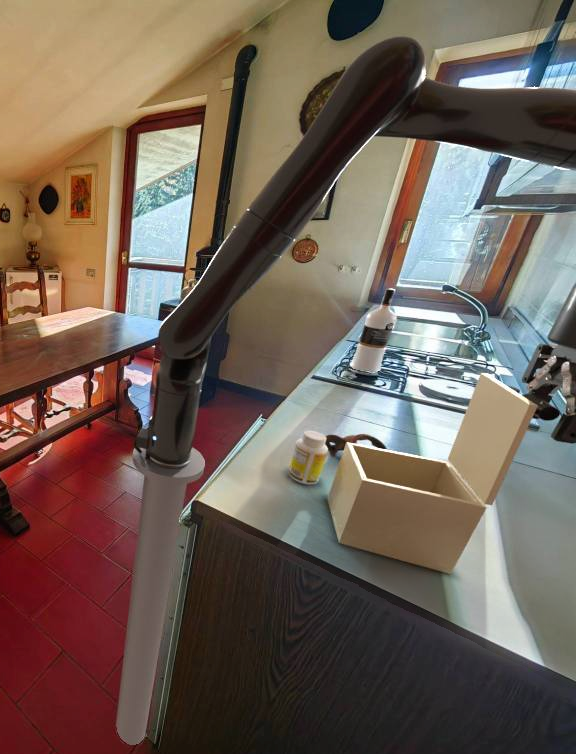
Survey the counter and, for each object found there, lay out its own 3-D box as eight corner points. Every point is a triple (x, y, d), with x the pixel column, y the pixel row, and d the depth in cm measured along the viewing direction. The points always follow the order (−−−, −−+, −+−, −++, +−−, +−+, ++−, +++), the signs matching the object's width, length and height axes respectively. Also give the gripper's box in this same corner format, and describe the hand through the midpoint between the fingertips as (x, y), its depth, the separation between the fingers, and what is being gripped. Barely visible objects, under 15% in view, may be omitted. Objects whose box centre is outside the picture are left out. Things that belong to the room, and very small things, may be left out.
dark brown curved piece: (366, 456, 91) (392, 438, 84) (367, 490, 85) (395, 475, 79) (313, 435, 93) (334, 417, 87) (310, 467, 88) (333, 451, 81)
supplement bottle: (318, 475, 83) (331, 433, 79) (317, 489, 78) (331, 445, 74) (288, 467, 85) (300, 426, 81) (286, 479, 81) (298, 437, 77)
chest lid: (529, 404, 49) (589, 411, 47) (480, 372, 60) (527, 376, 57) (484, 504, 55) (536, 514, 52) (447, 458, 65) (488, 465, 63)
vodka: (365, 367, 147) (392, 286, 135) (385, 376, 138) (416, 291, 127) (342, 367, 146) (367, 286, 135) (360, 376, 138) (389, 291, 126)
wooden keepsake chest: (338, 543, 65) (362, 479, 60) (327, 498, 76) (346, 441, 71) (450, 574, 59) (486, 507, 55) (421, 521, 70) (449, 461, 65)
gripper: (533, 298, 55) (483, 403, 61) (611, 318, 43) (539, 447, 49) (609, 303, 52) (549, 413, 58) (716, 326, 40) (625, 461, 46)
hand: (544, 428), depth 54 cm, fingers open, 7 cm apart
